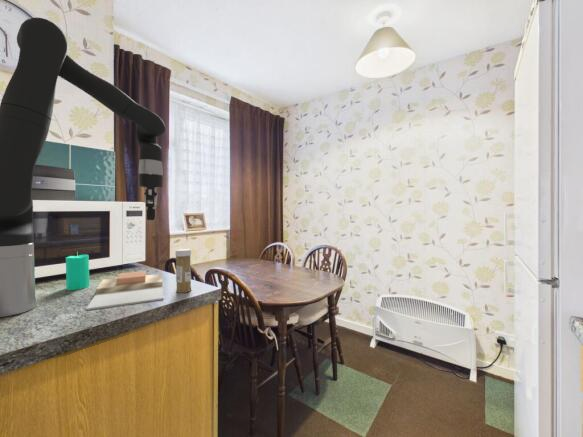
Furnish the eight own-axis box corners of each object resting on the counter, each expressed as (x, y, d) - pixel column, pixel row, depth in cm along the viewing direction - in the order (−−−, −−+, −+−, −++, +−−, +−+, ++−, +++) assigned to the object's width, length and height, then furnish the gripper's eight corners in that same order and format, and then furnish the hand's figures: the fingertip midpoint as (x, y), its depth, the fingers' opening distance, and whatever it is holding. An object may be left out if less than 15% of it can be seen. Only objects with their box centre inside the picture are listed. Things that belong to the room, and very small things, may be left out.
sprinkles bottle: (192, 291, 83) (192, 249, 83) (177, 294, 81) (176, 251, 80) (189, 288, 87) (189, 248, 87) (174, 290, 85) (174, 249, 84)
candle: (92, 283, 91) (91, 249, 91) (85, 288, 85) (84, 252, 85) (71, 285, 89) (70, 250, 89) (62, 290, 84) (61, 253, 83)
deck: (96, 295, 79) (96, 289, 79) (103, 285, 90) (103, 279, 90) (162, 287, 87) (162, 281, 87) (161, 278, 98) (161, 273, 98)
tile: (116, 285, 83) (116, 278, 83) (119, 279, 90) (119, 273, 90) (145, 282, 87) (145, 276, 87) (146, 276, 94) (146, 270, 94)
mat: (86, 310, 68) (86, 308, 68) (96, 295, 79) (96, 293, 79) (163, 299, 76) (163, 297, 76) (162, 287, 87) (162, 286, 87)
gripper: (140, 175, 97) (140, 218, 98) (136, 170, 85) (137, 220, 85) (162, 176, 101) (163, 218, 101) (162, 172, 88) (162, 220, 88)
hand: (151, 219), depth 93 cm, fingers open, 8 cm apart
